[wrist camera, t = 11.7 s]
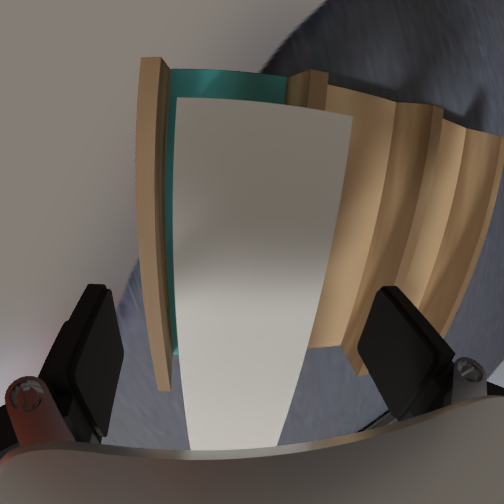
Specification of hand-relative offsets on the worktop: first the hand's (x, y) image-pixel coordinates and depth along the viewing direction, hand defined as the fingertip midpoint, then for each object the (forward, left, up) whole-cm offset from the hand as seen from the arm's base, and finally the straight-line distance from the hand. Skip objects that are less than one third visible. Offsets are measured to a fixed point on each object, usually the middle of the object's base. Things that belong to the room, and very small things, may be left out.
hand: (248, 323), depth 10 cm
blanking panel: (0, 0, -8) cm, 8 cm away
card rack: (-6, 0, -9) cm, 11 cm away
